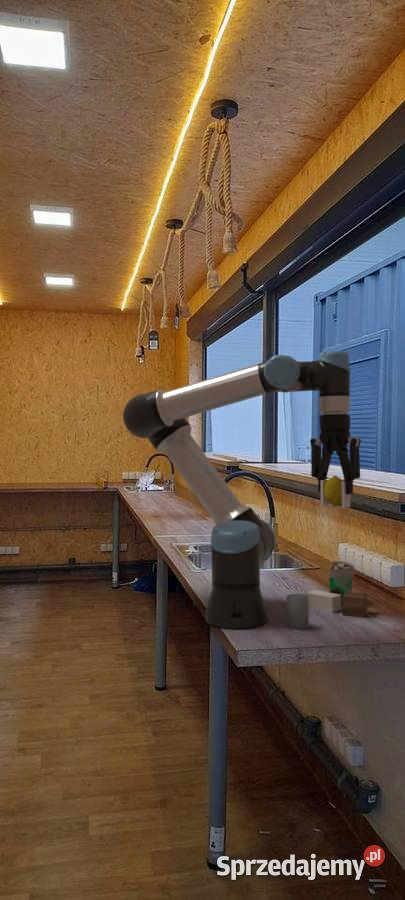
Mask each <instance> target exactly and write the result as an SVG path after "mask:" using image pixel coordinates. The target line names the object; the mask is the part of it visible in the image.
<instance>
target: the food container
mask: <svg viewBox="0 0 405 900" xmlns="http://www.w3.org/2000/svg"><path fill="white" fill-rule="evenodd" d="M332 563H333V564H332V566H331V568H328V578H329V582H328V583H329V593H334V594H340V595H341V606H342V607H343V601H342V596H343V595H344V594H345V593H346V592H347V591H350V592H353V591H352V590H353V589H352V586H353V576H354V575H355V574H356V571H355V567H354V566H353V564H352V563H350V562H346V561H341V560H338V561H337V560H333V562H332Z"/></svg>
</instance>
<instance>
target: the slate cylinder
mask: <svg viewBox="0 0 405 900" xmlns="http://www.w3.org/2000/svg"><path fill="white" fill-rule="evenodd" d="M309 621H310V619H309V608H308V596H306V594H303V593H292V594H288V595H286V627H287V628H288V629H290V630H293V631H294V630H296V631H302V630H307V629H308V628H309V627H310V626H309Z"/></svg>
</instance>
